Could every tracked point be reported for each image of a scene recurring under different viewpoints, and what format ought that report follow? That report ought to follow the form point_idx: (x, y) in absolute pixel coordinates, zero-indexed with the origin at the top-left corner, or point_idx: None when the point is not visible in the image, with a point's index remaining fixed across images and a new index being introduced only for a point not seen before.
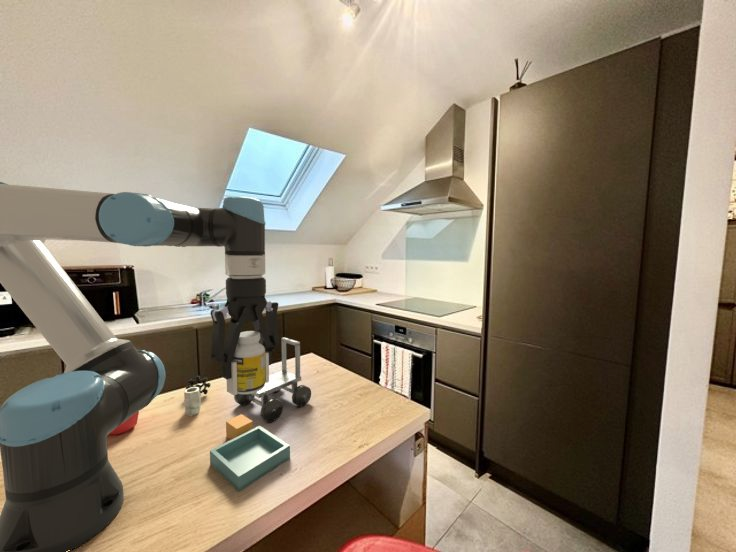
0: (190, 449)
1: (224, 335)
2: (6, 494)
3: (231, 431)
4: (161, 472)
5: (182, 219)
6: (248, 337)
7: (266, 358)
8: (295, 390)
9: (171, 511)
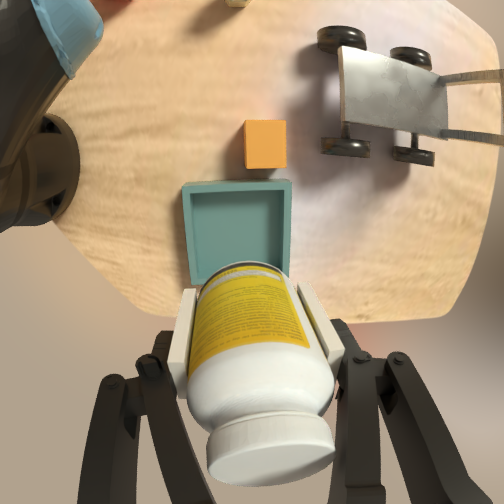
0: (177, 113)
1: (134, 497)
2: None
3: (245, 144)
4: (124, 145)
5: None
6: (244, 484)
7: None
8: (413, 151)
9: (119, 240)
